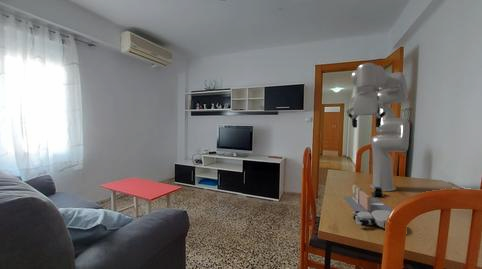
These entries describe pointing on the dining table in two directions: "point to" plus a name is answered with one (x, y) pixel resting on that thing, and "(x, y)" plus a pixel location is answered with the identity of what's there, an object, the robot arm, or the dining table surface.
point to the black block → (378, 193)
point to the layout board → (374, 205)
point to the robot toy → (371, 217)
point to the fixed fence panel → (356, 193)
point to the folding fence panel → (364, 200)
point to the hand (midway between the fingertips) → (366, 127)
